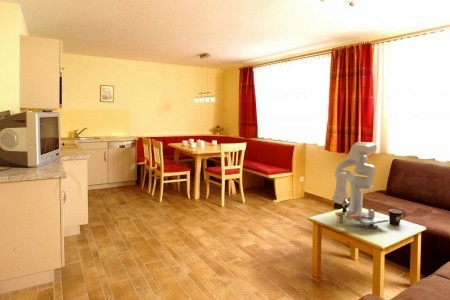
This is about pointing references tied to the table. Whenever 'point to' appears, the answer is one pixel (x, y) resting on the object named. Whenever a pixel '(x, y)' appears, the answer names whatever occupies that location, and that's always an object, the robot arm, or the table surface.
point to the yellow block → (339, 216)
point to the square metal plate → (370, 219)
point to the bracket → (355, 216)
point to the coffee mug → (395, 217)
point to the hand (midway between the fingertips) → (339, 210)
